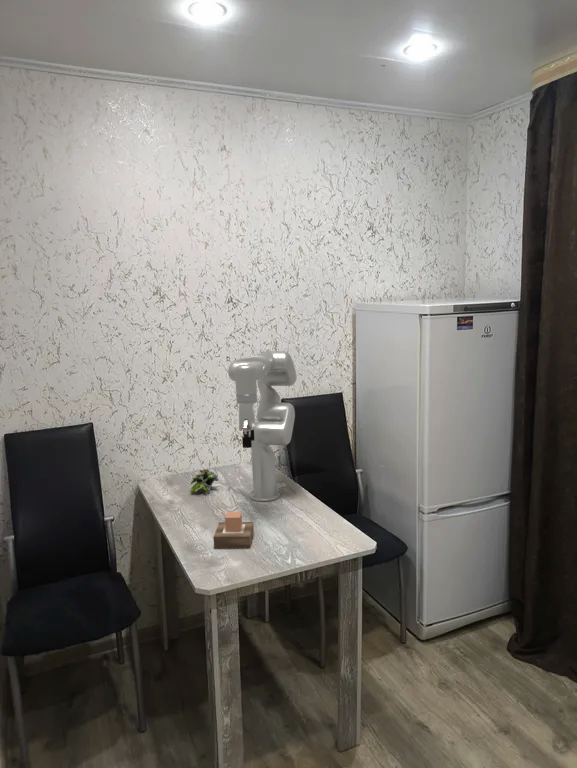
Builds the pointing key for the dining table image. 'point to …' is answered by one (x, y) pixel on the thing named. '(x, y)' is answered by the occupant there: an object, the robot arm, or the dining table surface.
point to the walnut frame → (234, 536)
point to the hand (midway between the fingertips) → (248, 443)
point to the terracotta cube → (233, 521)
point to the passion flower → (203, 480)
